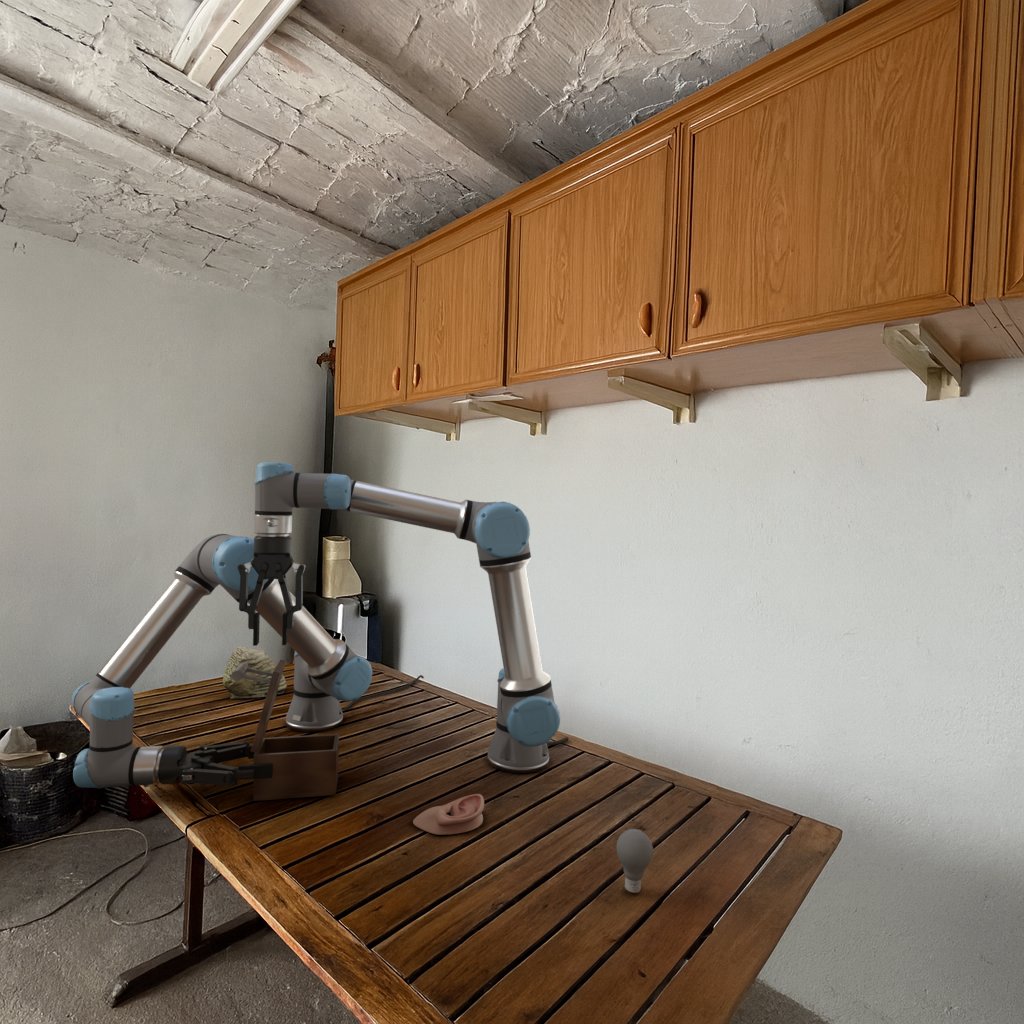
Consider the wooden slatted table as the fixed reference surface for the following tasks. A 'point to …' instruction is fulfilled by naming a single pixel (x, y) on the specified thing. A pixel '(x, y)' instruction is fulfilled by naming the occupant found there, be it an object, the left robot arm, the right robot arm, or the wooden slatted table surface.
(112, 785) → the left robot arm
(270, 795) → the chest
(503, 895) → the wooden slatted table surface
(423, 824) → the anatomical model
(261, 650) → the fossil
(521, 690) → the right robot arm
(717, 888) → the wooden slatted table surface
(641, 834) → the light bulb
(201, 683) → the wooden slatted table surface
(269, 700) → the lid
